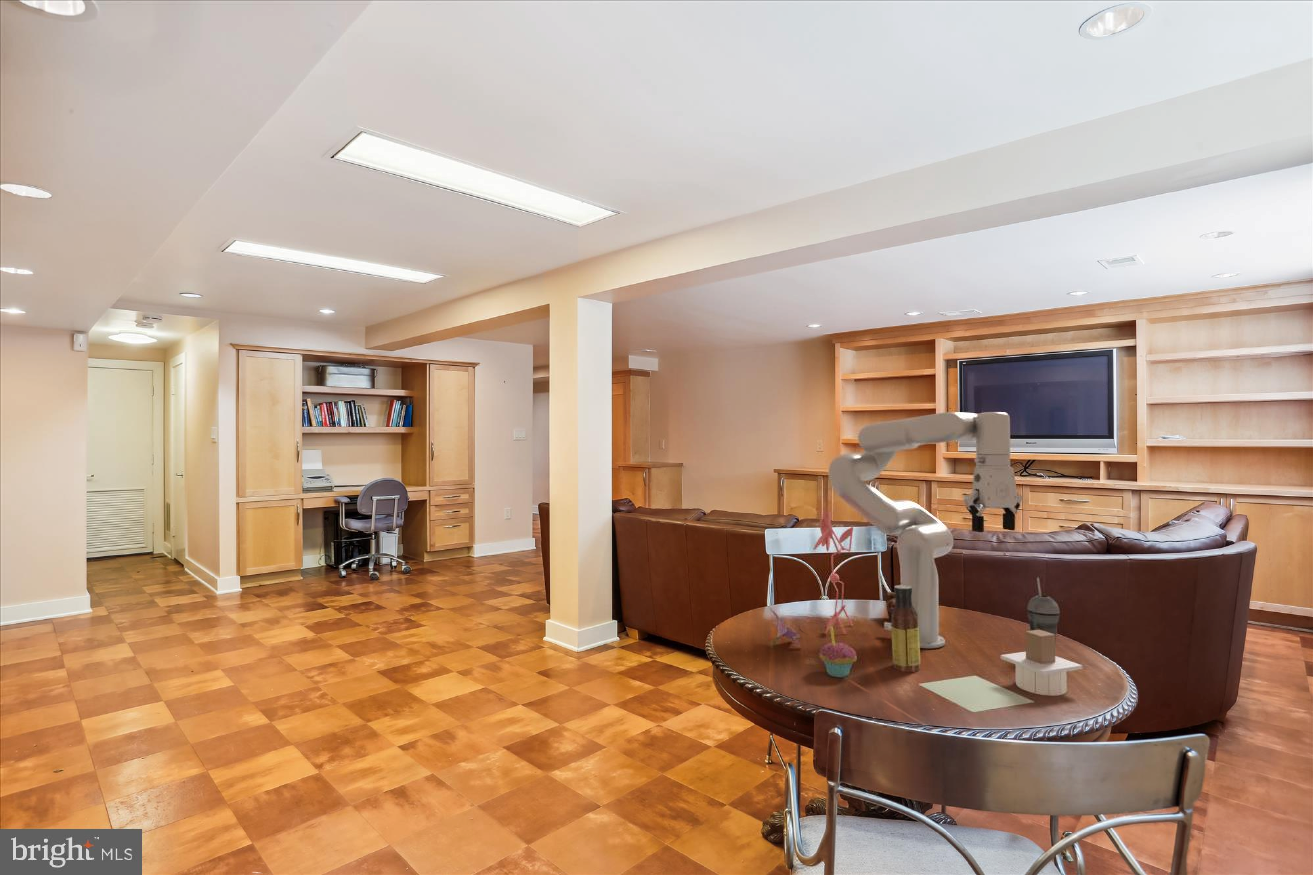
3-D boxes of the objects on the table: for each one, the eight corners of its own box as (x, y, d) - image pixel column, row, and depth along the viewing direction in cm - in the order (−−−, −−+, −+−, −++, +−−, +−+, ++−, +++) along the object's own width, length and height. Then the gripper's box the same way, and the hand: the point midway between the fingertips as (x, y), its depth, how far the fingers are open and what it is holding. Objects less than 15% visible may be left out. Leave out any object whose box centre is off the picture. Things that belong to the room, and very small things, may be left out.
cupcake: (836, 682, 150) (836, 629, 150) (811, 671, 157) (811, 620, 157) (864, 676, 154) (864, 624, 154) (838, 665, 161) (838, 616, 161)
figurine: (861, 619, 201) (857, 504, 201) (842, 642, 178) (838, 513, 179) (811, 614, 208) (808, 503, 209) (787, 636, 186) (783, 512, 186)
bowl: (1016, 692, 143) (1016, 667, 143) (1015, 677, 152) (1014, 654, 152) (1068, 700, 139) (1068, 674, 139) (1063, 684, 147) (1063, 660, 147)
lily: (798, 661, 167) (813, 626, 169) (755, 640, 170) (770, 606, 172) (794, 661, 178) (808, 627, 180) (754, 641, 181) (768, 608, 183)
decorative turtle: (895, 613, 208) (897, 588, 207) (934, 629, 194) (937, 602, 194) (872, 615, 203) (874, 590, 203) (911, 632, 190) (914, 604, 190)
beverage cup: (1065, 663, 161) (1064, 581, 161) (1032, 661, 163) (1032, 580, 163) (1053, 653, 169) (1053, 575, 169) (1022, 651, 170) (1022, 574, 170)
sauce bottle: (919, 666, 160) (919, 584, 160) (921, 675, 154) (920, 590, 154) (891, 663, 162) (890, 582, 162) (891, 672, 156) (890, 588, 156)
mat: (973, 714, 132) (973, 712, 132) (918, 685, 147) (918, 684, 147) (1034, 703, 137) (1034, 701, 137) (975, 677, 152) (975, 675, 152)
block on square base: (1043, 675, 138) (1043, 642, 138) (1000, 658, 149) (1000, 628, 149) (1082, 669, 142) (1081, 637, 142) (1038, 653, 152) (1037, 623, 152)
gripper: (976, 463, 157) (977, 534, 157) (1032, 461, 163) (1033, 531, 163) (953, 461, 165) (954, 530, 164) (1008, 460, 170) (1008, 527, 170)
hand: (993, 530), depth 164 cm, fingers open, 9 cm apart
